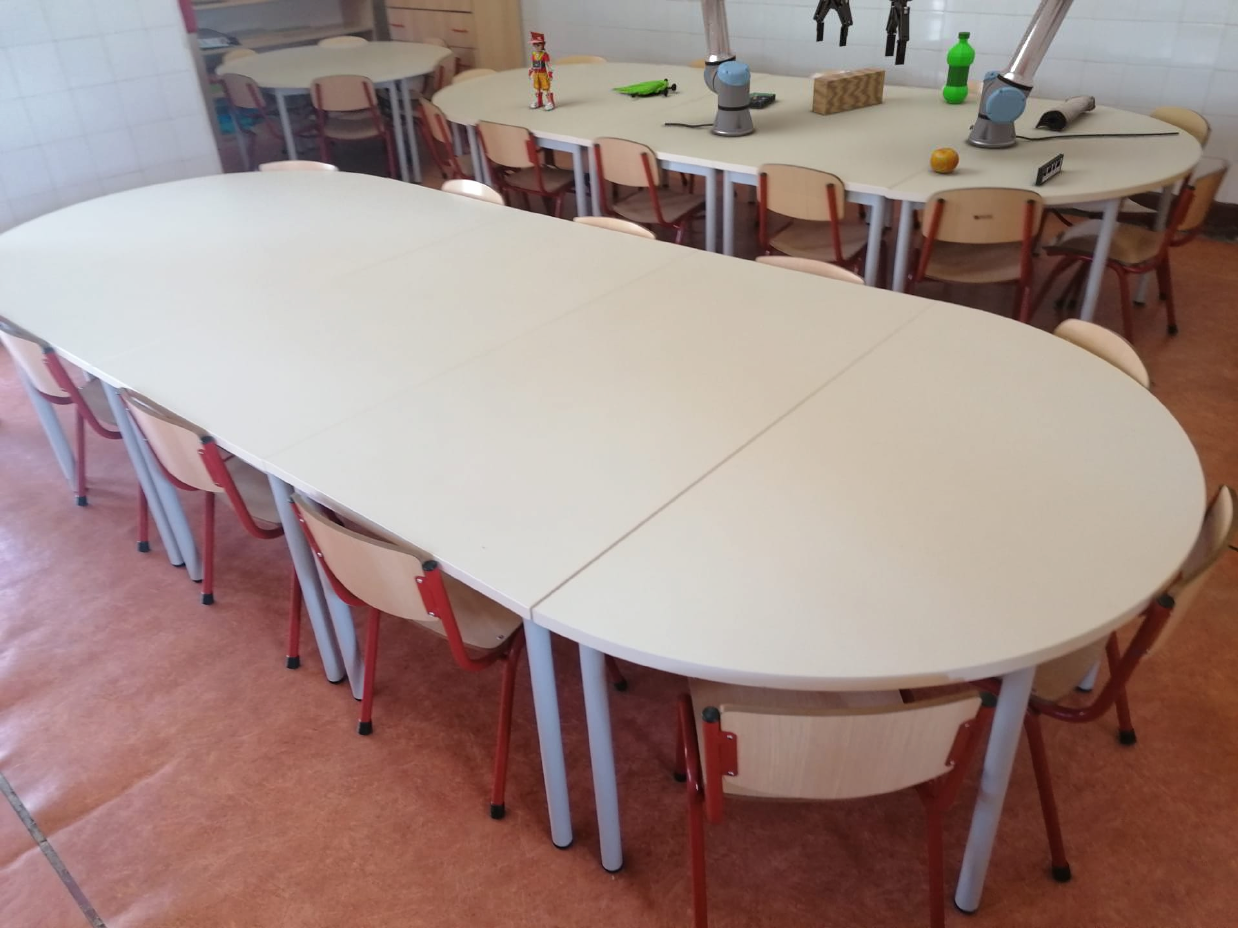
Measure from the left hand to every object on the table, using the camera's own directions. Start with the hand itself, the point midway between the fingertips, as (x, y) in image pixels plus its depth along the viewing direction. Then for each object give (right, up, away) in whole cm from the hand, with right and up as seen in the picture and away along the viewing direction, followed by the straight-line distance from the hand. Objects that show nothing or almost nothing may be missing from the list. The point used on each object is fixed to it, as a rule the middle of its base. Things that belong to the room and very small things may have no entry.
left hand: (830, 44), depth 340 cm
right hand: (+9, -29, -50) cm, 59 cm away
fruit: (+23, -66, -55) cm, 89 cm away
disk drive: (-24, -11, +29) cm, 39 cm away
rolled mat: (+82, -35, -15) cm, 90 cm away
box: (+11, -17, +18) cm, 27 cm away
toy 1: (-113, -7, +43) cm, 121 cm away
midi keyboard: (+51, -72, -65) cm, 109 cm away
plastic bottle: (+52, -16, +15) cm, 57 cm away
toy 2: (-71, +5, +57) cm, 91 cm away
